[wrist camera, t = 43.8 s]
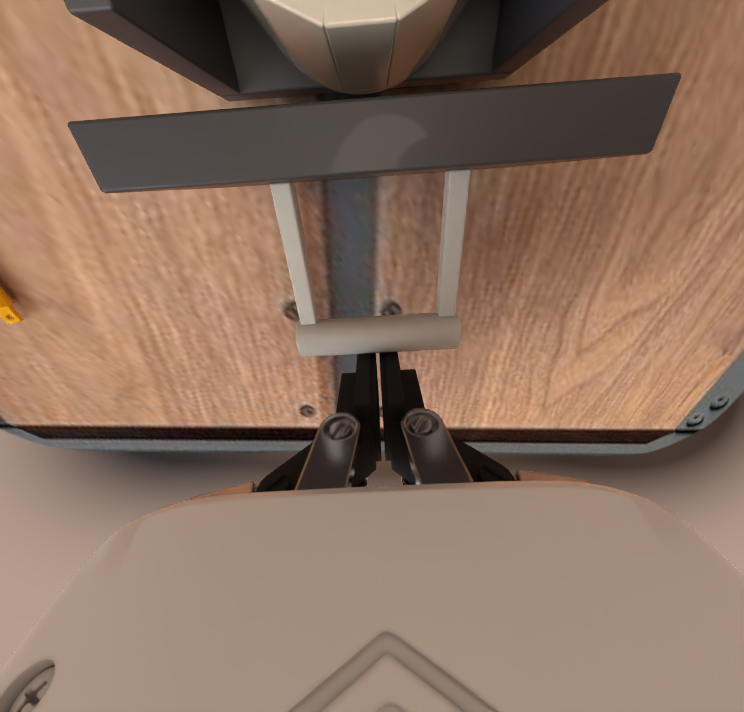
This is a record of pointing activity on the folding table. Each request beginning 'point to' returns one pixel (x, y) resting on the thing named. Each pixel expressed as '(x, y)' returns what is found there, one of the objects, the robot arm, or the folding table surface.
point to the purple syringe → (8, 309)
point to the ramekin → (357, 38)
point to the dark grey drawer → (361, 131)
